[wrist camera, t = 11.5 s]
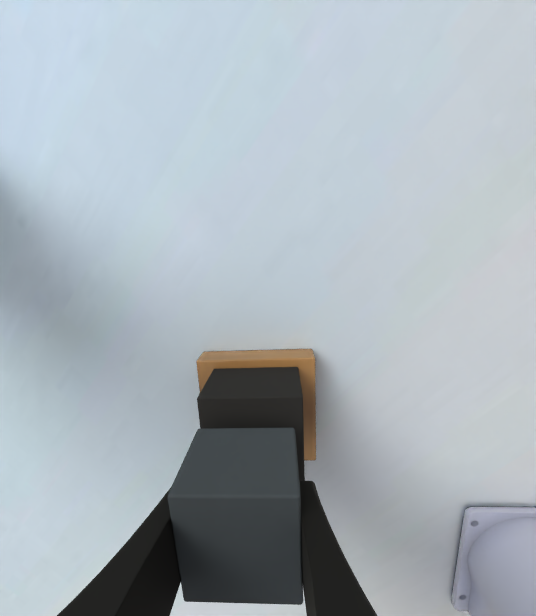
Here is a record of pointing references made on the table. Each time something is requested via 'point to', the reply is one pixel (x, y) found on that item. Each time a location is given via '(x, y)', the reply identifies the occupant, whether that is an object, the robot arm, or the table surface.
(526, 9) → the table surface
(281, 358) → the cork pad
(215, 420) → the black block
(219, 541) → the slate block
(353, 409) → the table surface
